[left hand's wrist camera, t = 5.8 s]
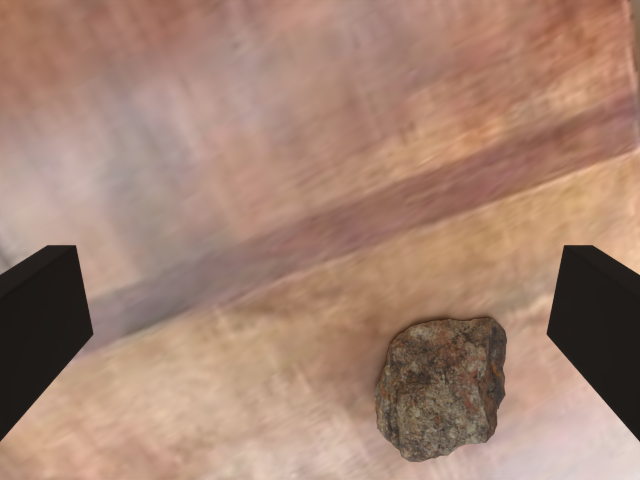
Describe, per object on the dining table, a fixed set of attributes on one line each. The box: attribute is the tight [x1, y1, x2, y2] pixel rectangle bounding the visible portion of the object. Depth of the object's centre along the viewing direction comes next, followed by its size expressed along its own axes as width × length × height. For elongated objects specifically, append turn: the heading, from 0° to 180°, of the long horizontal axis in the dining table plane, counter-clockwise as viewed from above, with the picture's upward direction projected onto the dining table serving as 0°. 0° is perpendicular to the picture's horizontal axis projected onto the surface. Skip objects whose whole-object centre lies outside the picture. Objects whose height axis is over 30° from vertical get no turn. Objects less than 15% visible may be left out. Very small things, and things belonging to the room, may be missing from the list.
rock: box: [374, 317, 507, 462], centre depth 43 cm, size 14×9×10 cm
